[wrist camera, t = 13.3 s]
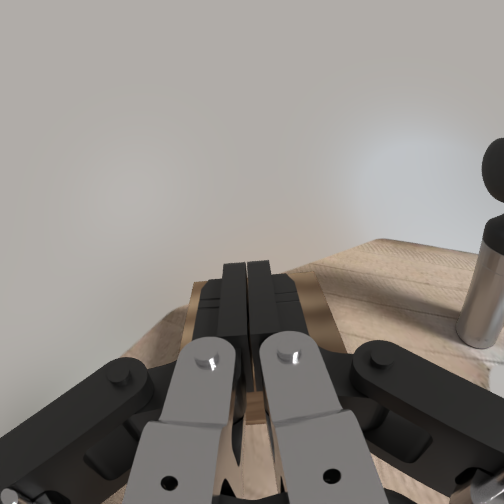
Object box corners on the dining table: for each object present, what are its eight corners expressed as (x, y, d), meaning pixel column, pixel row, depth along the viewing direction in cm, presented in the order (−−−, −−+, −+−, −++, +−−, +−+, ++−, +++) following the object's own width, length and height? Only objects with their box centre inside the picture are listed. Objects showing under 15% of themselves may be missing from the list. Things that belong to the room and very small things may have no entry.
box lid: (348, 365, 29) (349, 359, 28) (177, 380, 29) (174, 374, 28) (313, 277, 45) (314, 271, 44) (195, 287, 45) (194, 282, 44)
